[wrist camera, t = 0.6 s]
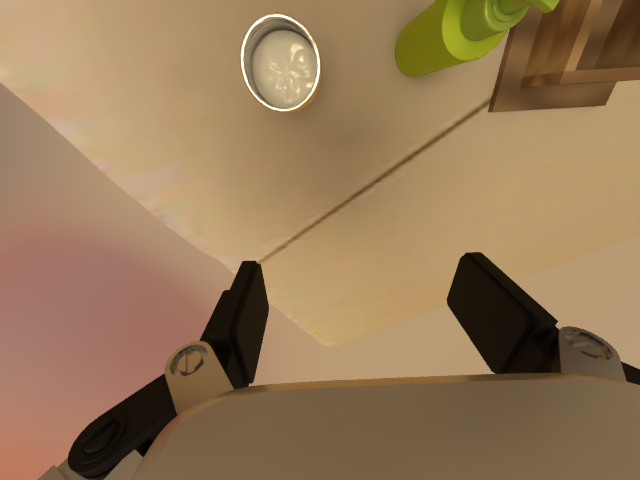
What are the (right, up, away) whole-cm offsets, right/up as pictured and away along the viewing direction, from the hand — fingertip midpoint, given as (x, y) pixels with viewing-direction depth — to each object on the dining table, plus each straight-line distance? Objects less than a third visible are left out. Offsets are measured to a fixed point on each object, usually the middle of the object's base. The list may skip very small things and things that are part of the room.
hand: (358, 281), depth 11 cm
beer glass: (-5, +24, +21) cm, 32 cm away
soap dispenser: (+10, +27, +20) cm, 35 cm away
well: (+30, +28, +19) cm, 46 cm away
